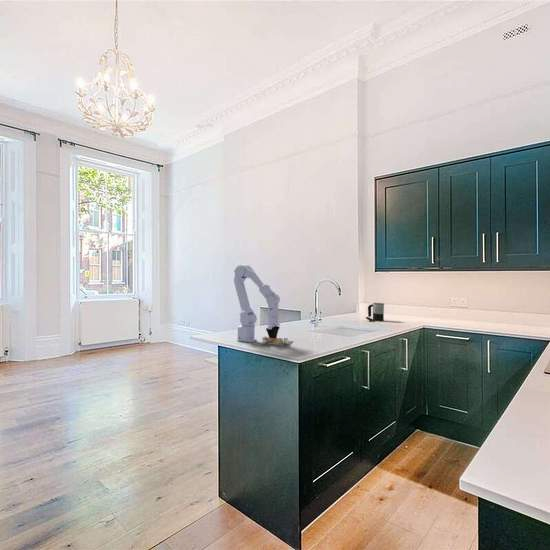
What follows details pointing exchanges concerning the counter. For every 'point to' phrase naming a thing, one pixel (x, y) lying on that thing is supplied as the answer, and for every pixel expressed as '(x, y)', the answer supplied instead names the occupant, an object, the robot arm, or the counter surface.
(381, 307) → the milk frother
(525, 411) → the counter surface
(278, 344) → the mat
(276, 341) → the gate
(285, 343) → the gate posts
